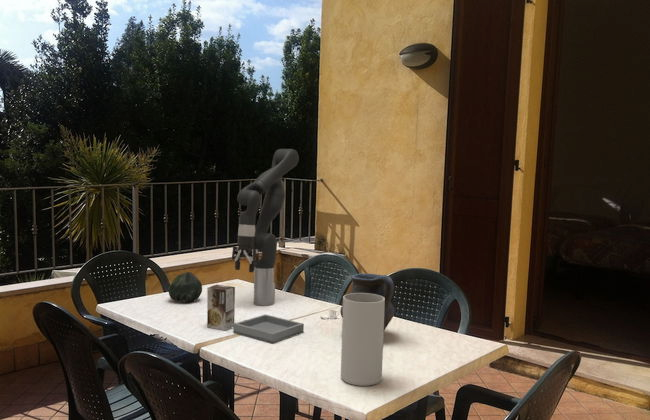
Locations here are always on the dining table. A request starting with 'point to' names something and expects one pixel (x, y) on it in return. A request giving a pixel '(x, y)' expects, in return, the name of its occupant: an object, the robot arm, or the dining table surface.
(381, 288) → the pitcher
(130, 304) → the dining table surface
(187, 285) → the squash
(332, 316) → the teacup and saucer
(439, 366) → the dining table surface
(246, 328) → the tray
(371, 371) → the cylinder vase
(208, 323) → the coffee box
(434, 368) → the dining table surface
